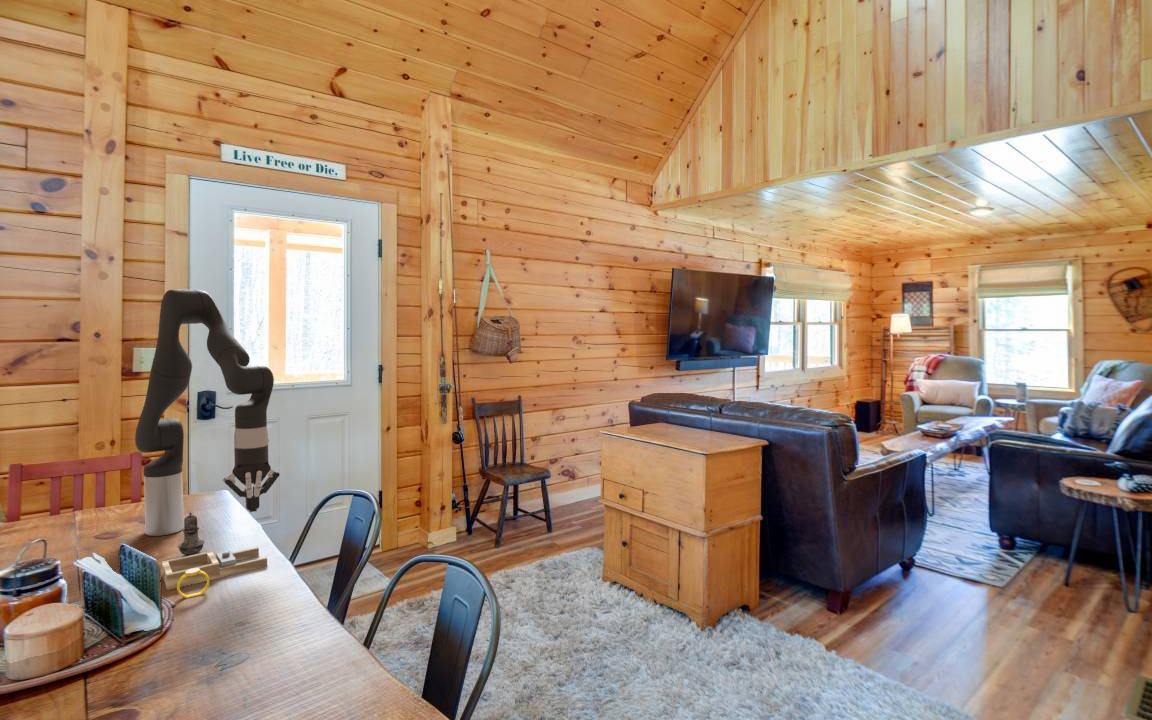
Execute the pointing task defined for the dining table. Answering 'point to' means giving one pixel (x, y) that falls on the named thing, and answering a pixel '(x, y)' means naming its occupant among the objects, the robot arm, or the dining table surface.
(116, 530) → the dining table surface
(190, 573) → the watch
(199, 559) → the holder
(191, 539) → the dark stupa figurine
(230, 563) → the cover
